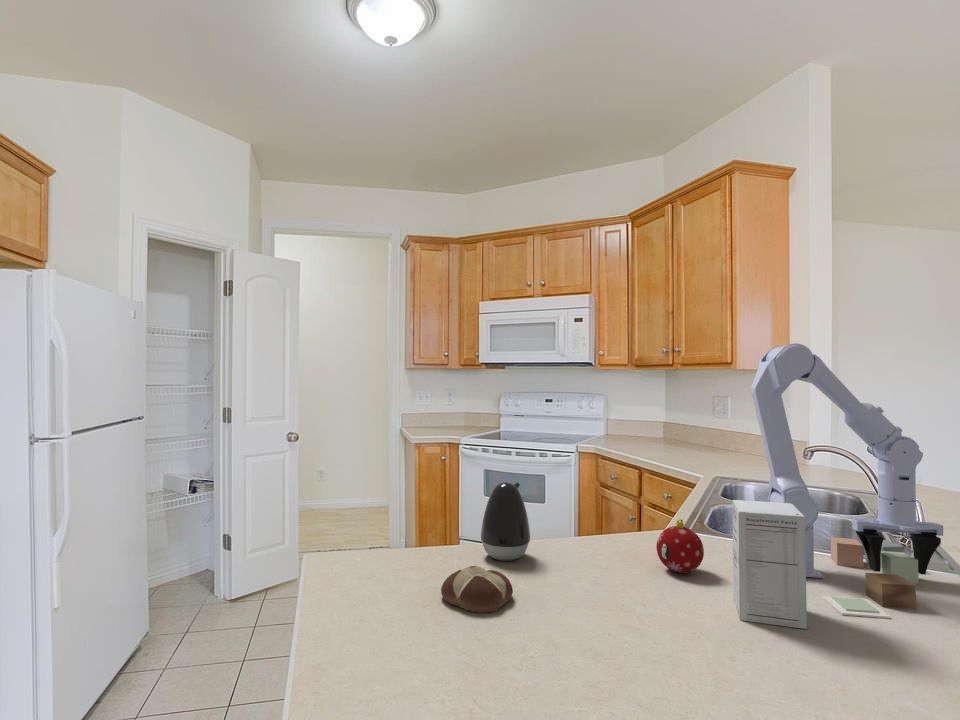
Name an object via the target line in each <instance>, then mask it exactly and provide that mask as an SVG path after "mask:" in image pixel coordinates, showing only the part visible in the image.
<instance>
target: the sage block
mask: <svg viewBox="0 0 960 720" xmlns="http://www.w3.org/2000/svg"><path fill="white" fill-rule="evenodd" d="M880 558H881V568H880V572H877V573H880V574H896V575H899V576H901V577H902V578H904V579H906V580H907V581H909V582H911V583H912V584H914V585H919V573H918V560H917V559H915V558H914V556H911V555H909V554H908V553H905V551H904V552H889V551H881V555H880Z"/></svg>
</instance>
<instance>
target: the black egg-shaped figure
mask: <svg viewBox="0 0 960 720" xmlns="http://www.w3.org/2000/svg"><path fill="white" fill-rule="evenodd" d="M520 485H521V484H520V483H519V482H515V483H514V484H513V483H512V482H511V483H510V482H501V483H499V484H497V485H496V486H495V487H494V489H493V490H492V492H491V494H490V496H489V498H488V501H487V503H486V506H485V509H484V514H483V519H482V524H481V529H480V540H481V542H482V546H483V548H484V551H485V552H486V554H487V555H488V556H489V557H491V558H492V559H495V560H498V561H501V562H502V561H505V562H509V561H514V560H517V559H519V558H520V557H522V556H523V555H524V554H525V553H526V551H527V549H528V547H529V543H530V542H531V530H530V523H529V516H528V513H527V508H526V505H525V501H524V499H523V497H522V494H521V492H520V490H519V488H520Z"/></svg>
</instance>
